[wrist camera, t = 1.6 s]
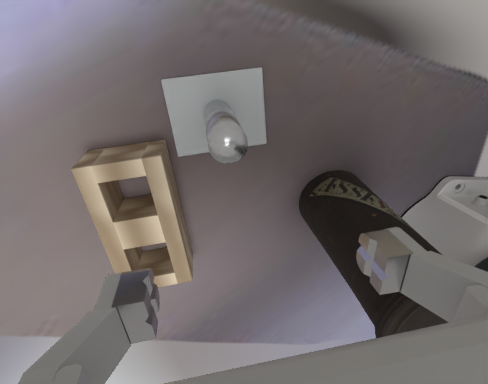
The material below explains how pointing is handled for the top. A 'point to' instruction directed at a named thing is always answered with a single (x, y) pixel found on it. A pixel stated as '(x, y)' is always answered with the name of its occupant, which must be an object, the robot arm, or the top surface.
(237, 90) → the mat
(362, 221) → the container
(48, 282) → the top surface
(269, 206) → the top surface
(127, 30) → the top surface
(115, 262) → the socket block
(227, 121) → the peg
